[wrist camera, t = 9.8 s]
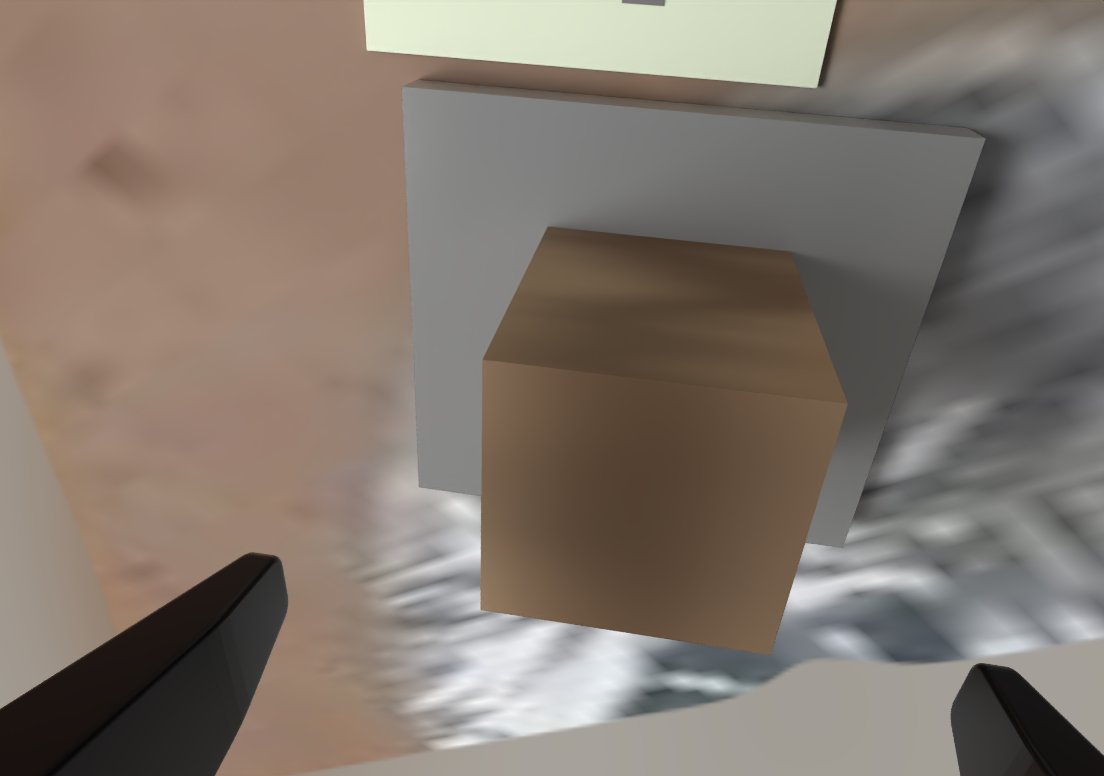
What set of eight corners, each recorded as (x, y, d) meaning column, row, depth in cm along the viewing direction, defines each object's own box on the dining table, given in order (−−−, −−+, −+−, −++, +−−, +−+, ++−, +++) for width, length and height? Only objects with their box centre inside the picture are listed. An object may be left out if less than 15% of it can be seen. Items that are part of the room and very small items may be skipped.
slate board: (967, 128, 14) (985, 138, 13) (835, 521, 19) (842, 547, 19) (417, 79, 15) (402, 86, 14) (429, 464, 20) (418, 487, 20)
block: (790, 251, 15) (847, 403, 10) (743, 450, 18) (770, 655, 12) (547, 226, 15) (483, 359, 10) (536, 424, 18) (480, 609, 13)
